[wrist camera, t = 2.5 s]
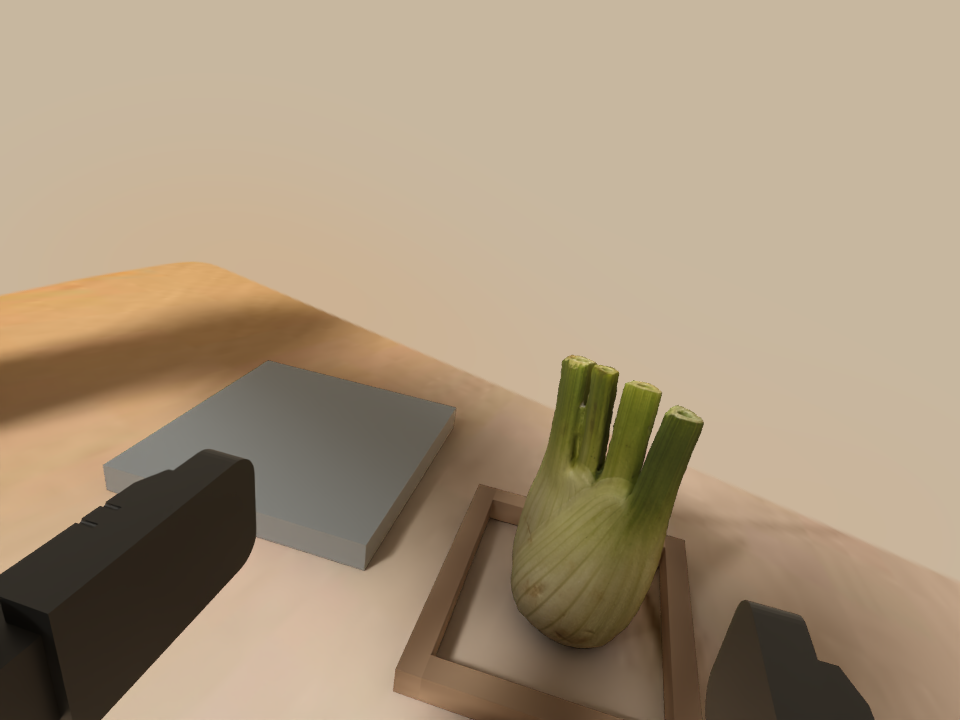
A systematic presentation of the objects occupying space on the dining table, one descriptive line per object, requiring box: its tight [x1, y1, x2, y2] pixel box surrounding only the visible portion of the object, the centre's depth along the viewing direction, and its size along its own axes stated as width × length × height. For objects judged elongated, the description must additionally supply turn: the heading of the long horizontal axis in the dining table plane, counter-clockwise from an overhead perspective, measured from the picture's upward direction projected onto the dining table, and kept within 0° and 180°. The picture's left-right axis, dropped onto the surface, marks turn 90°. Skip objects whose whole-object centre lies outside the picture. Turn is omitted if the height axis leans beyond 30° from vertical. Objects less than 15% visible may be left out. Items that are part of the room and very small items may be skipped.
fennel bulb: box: [511, 355, 704, 648], centre depth 23 cm, size 6×5×12 cm
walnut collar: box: [393, 484, 702, 720], centre depth 26 cm, size 11×12×1 cm
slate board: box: [103, 360, 456, 570], centre depth 34 cm, size 14×14×2 cm
